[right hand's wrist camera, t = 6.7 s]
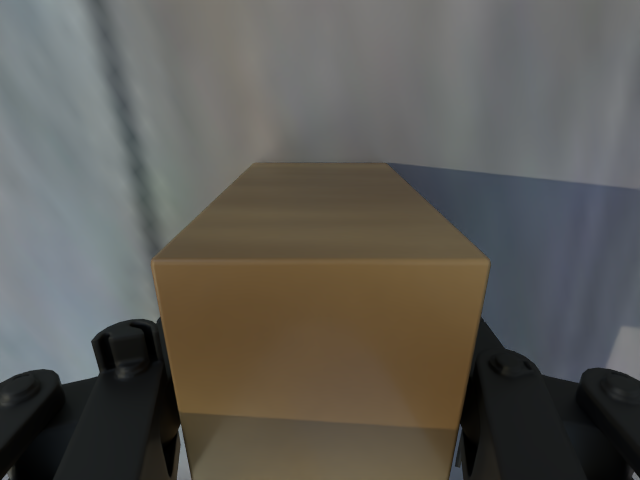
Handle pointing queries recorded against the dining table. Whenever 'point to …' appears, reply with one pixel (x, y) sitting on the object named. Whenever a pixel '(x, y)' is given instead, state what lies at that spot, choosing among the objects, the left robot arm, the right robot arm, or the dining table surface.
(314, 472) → the bar
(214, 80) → the dining table surface
